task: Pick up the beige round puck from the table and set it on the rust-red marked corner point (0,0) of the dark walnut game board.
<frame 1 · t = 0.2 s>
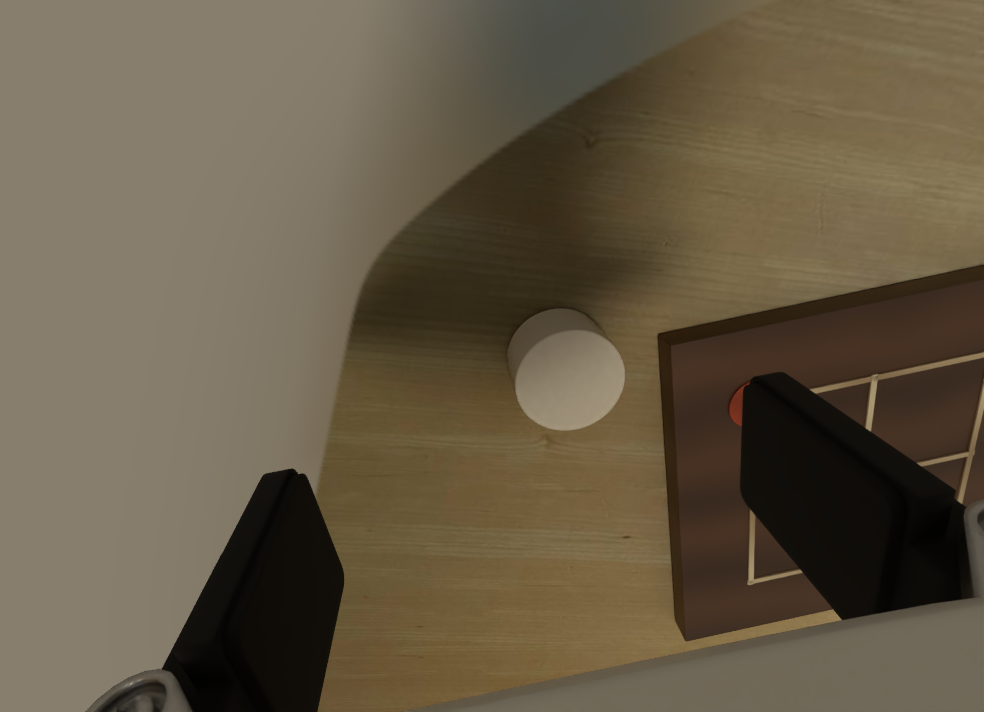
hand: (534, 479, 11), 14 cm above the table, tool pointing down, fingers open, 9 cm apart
board: (840, 460, 29), on the table
beige round puck: (556, 355, 25), on the table
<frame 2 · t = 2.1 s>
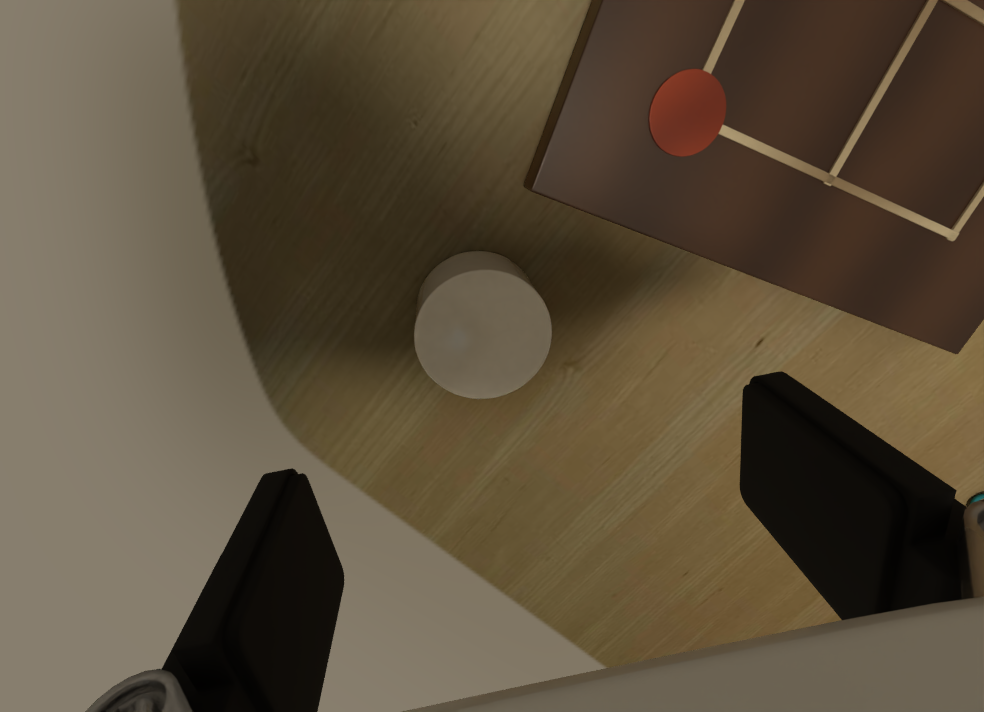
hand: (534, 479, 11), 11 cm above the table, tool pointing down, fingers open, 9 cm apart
board: (897, 1, 18), on the table
beige round puck: (477, 310, 20), on the table
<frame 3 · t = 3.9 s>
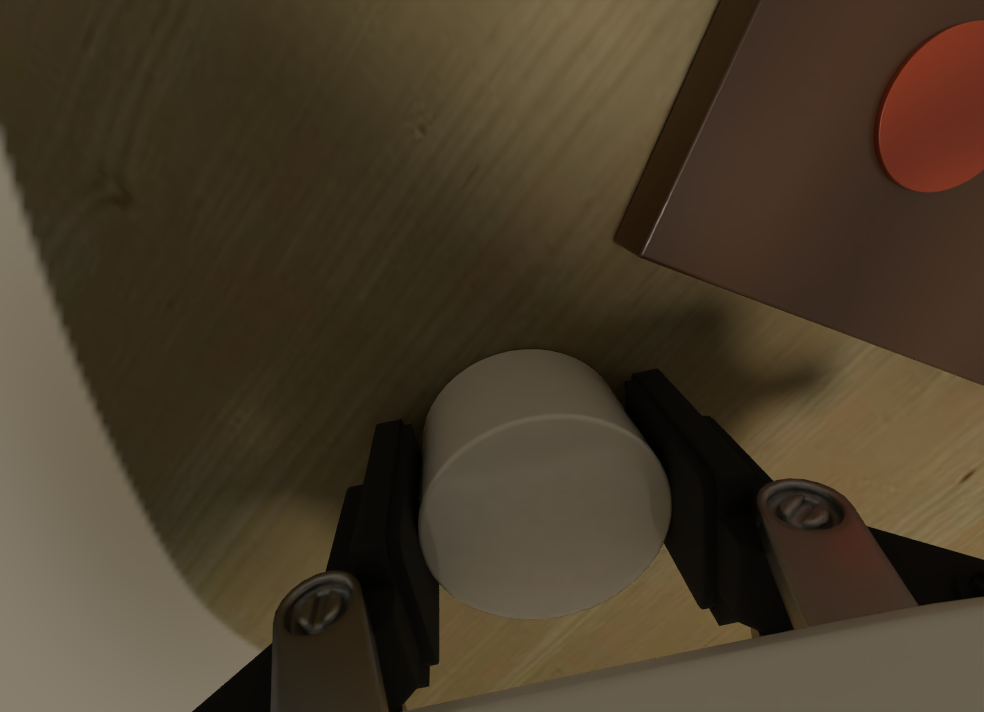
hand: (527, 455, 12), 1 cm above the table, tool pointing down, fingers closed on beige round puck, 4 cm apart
beige round puck: (523, 440, 12), on the table, touching gripper
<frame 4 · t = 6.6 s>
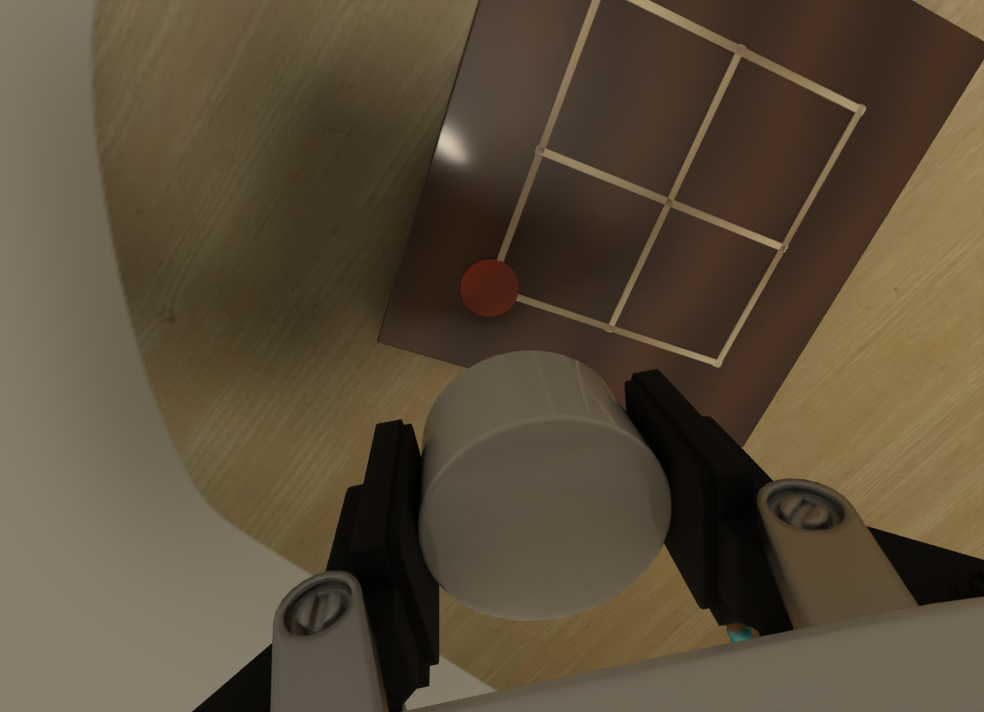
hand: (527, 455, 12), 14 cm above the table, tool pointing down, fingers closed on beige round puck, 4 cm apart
board: (654, 198, 23), on the table
beige round puck: (523, 441, 12), point 13 cm above the table, touching gripper
dragon figurine: (776, 589, 35), on the table
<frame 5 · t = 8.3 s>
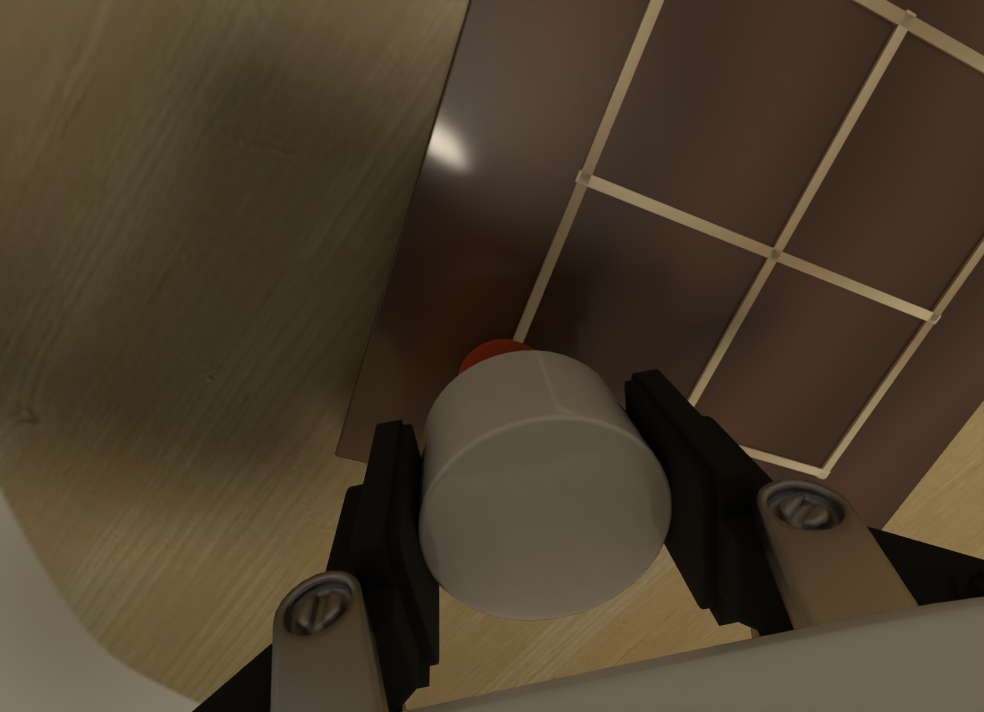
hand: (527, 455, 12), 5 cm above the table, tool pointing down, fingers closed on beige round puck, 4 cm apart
board: (744, 243, 16), on the table
beige round puck: (523, 441, 12), point 5 cm above the table, touching gripper
when the fingers open (2 cm above the table, at t = 9.5 s): beige round puck stays where it is, resting on board.
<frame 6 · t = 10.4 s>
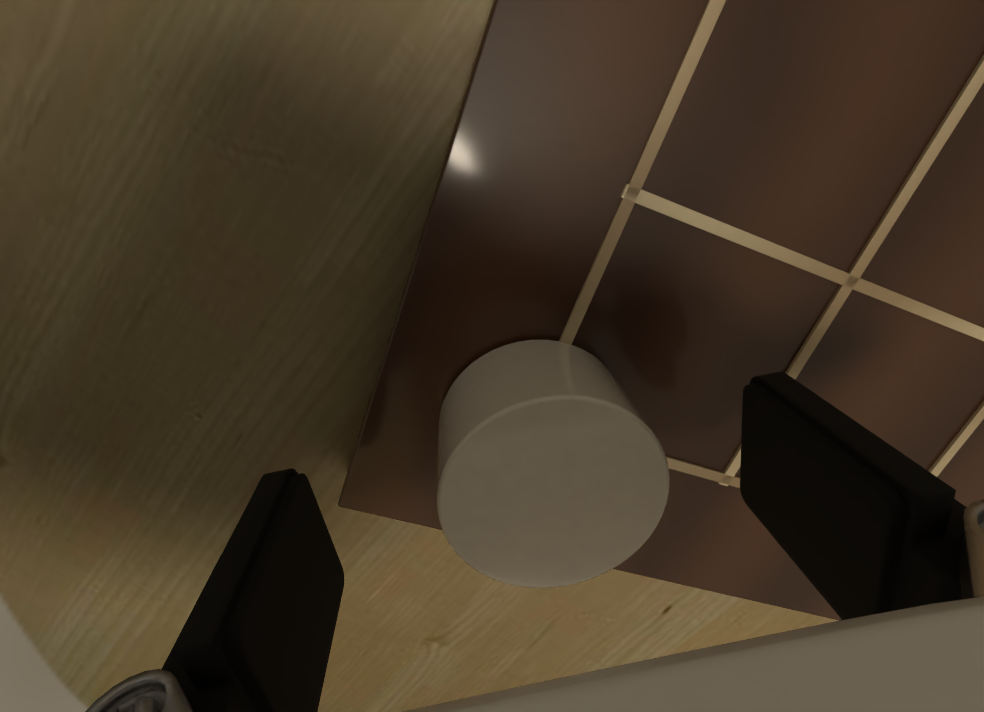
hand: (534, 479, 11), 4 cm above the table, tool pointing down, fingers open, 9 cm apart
board: (808, 266, 14), on the table
beige round puck: (532, 425, 13), point 2 cm above the table, touching board
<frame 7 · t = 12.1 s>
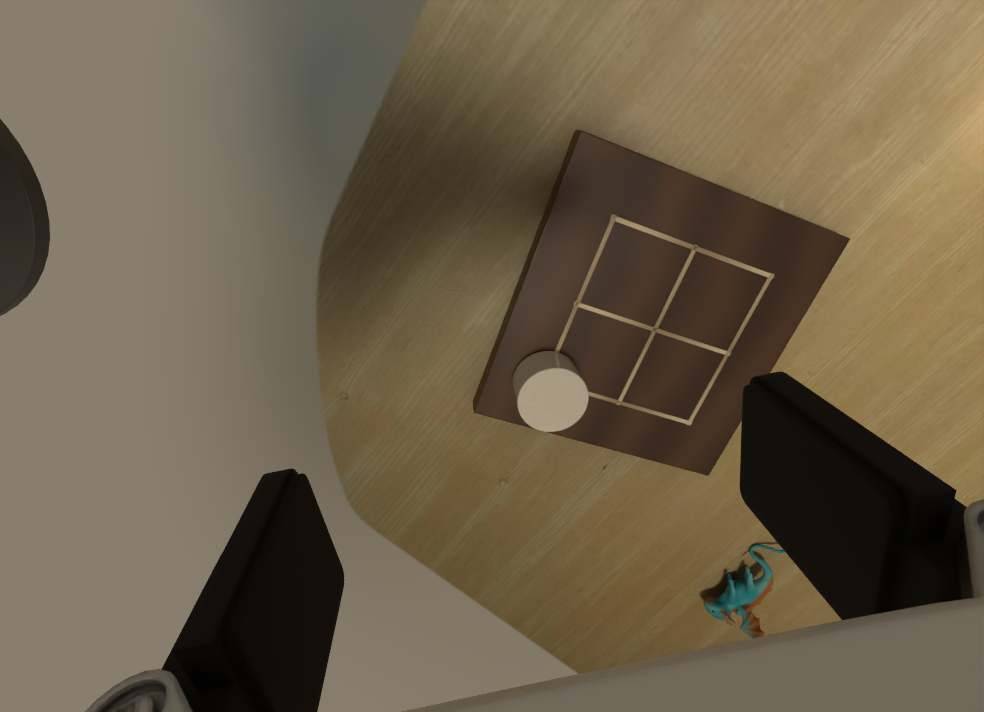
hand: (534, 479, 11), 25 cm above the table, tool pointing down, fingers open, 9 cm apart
board: (646, 322, 37), on the table
beige round puck: (545, 381, 37), point 2 cm above the table, touching board
dragon figurine: (740, 573, 49), on the table
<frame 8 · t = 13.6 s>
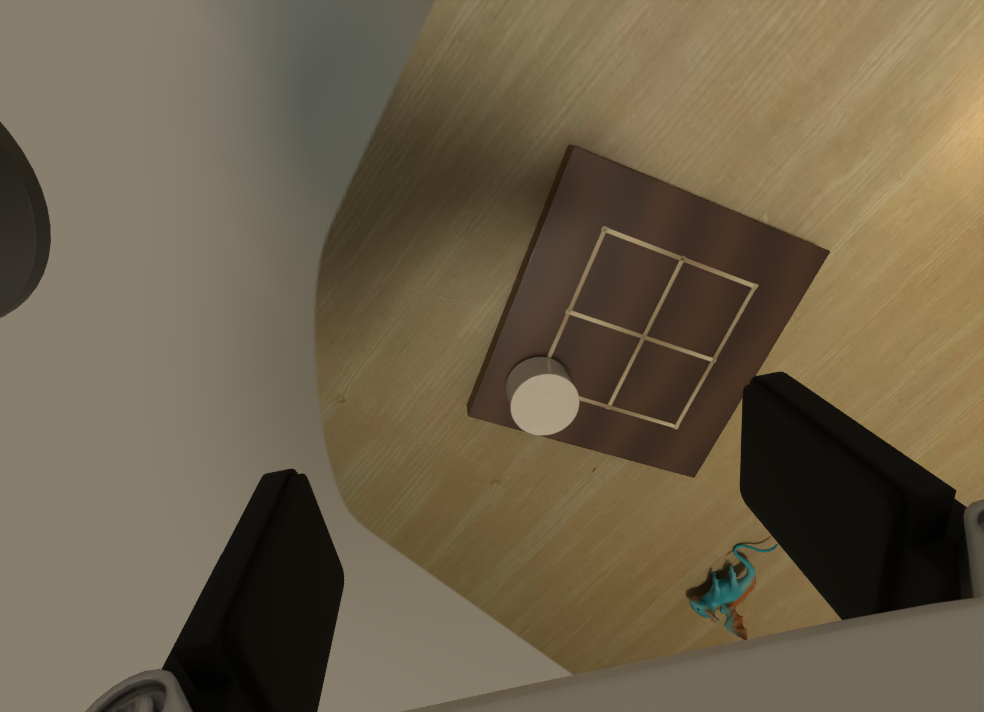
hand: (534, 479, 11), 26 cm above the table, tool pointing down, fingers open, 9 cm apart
board: (636, 329, 39), on the table
beige round puck: (537, 386, 38), point 2 cm above the table, touching board
dragon figurine: (724, 573, 50), on the table
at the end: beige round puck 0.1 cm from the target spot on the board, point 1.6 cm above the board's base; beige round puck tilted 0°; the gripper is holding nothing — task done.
